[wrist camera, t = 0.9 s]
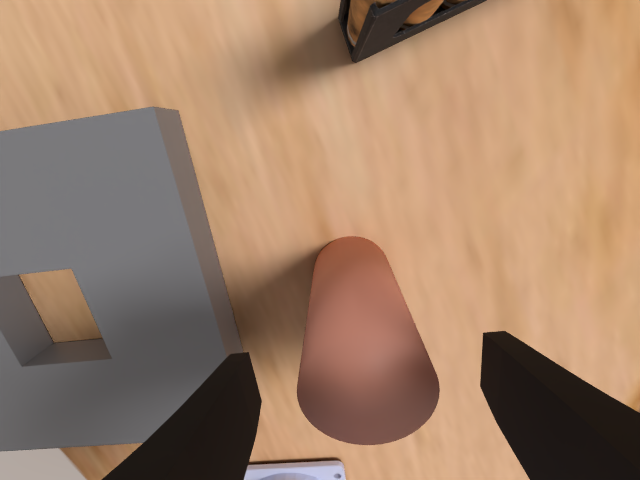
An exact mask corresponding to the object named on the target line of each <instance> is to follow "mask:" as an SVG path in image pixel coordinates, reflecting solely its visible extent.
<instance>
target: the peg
mask: <svg viewBox="0 0 640 480" xmlns="http://www.w3.org/2000/svg"><path fill="white" fill-rule="evenodd" d="M439 391H440V389H439V381H438V377H437V374H436V372H435V370H434V367H433V365H432V363H431V360H430V358H429V356H428V353H427V351H426V349H425V346H424V344H423V342H422V339H421V337H420V335H419V332H418V330H417V328H416V325H415V323H414V321H413V318H412V316H411V314H410V311H409V309H408V307H407V304H406V302H405V300H404V297H403V295H402V293H401V290H400V288H399V286H398V283H397V281H396V279H395V276H394V274H393V272H392V269H391V267H390V265H389V262H388V260H387V258H386V256H385V254H384V252H383V251H382V250H381V249H380V247H378V246H377V245H376V244H375V243H373V242H372V241H370V240H367V239H365V238H361V237H343V238H340V239H337V240H335V241H332V242H331V243H329V244H328V245H327V246H325V247H324V248H323V249H322V251H321V252H320V253H319V255H318V257H317V259H316V262H315V266H314V273H313V280H312V287H311V293H310V300H309V307H308V314H307V321H306V328H305V335H304V342H303V349H302V356H301V363H300V370H299V377H298V384H297V397H298V402H299V405H300V408H301V410H302V412H303V414H304V415H305V417H306V418H307V419H308V420H309V422H310V423H311V424H312V425H313V426H314V427H316V428H317V429H318V430H320V431H321V432H322V433H324V434H326V435H328V436H330V437H332V438H334V439H337V440H339V441H343V442H346V443H351V444H359V445H377V444H384V443H389V442H393V441H396V440H399V439H401V438H404V437H406V436H408V435H410V434H411V433H413V432H415V431H416V430H417V429H419V428H420V427H421V426H422V425H423V424H425V423H426V421H427V420H428V419H429V418H430V417H431V415H432V413H433V412H434V410H435V408H436V406H437V403H438V399H439Z"/></svg>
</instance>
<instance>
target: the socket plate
mask: <svg viewBox="0 0 640 480" xmlns="http://www.w3.org/2000/svg"><path fill="white" fill-rule="evenodd" d="M62 269H72V271H73V273H74V275H75V278H76V280H77V282H78V284H79V286H80V289H81V291H82V293H83V295H84V297H85V300H86V302H87V304H88V306H89V309H90V311H91V313H92V315H93V317H94V320H95V322H96V324H97V326H98V329H99V331H100V333H101V335H102V337H103V338H102V339H92V340H81V341H70V342H59V343H53V341H52V339H51V337H50V335H49V333H48V331H47V330H46V328H45V326H44V324H43V322H42V320H41V318H40V316H39V314H38V312H37V310H36V308H35V306H34V304H33V303H32V301H31V299H30V297H29V295H28V293H27V291H26V289H25V287H24V285H23V283H22V281H21V279H20V277H19V276H18V275H19V274H28V273H36V272H45V271H54V270H62ZM234 353H244V352H243V349H242V345H241V341H240V338H239V334H238V330H237V326H236V323H235V319H234V315H233V312H232V308H231V304H230V300H229V297H228V293H227V289H226V286H225V282H224V278H223V274H222V271H221V267H220V263H219V260H218V256H217V252H216V248H215V245H214V241H213V237H212V234H211V230H210V226H209V222H208V219H207V215H206V211H205V208H204V204H203V200H202V196H201V193H200V189H199V185H198V182H197V178H196V174H195V171H194V167H193V163H192V159H191V156H190V152H189V148H188V145H187V141H186V137H185V133H184V130H183V126H182V122H181V119H180V115H179V111H178V110H172V109H165V108H159V107H149V108H142V109H136V110H130V111H124V112H117V113H111V114H105V115H99V116H93V117H86V118H80V119H74V120H68V121H61V122H55V123H49V124H43V125H37V126H30V127H24V128H18V129H12V130H5V131H0V451H15V450H31V449H47V448H65V447H82V446H99V445H115V444H132V443H144V442H145V441H146V440H147V439H148V438H149V437H150V436H151V435H152V434H153V433H154V432H155V431H156V430H157V429H158V428H159V427H160V426H161V425H162V424H163V423H164V422H165V421H166V420H167V419H168V418H169V417H171V416H172V415H173V414H174V413H175V412H176V411H177V410H178V409H179V408H180V407H181V406H182V404H183V403H184V402H185V401H186V400H187V399H188V398H189V397H190V396H191V395H192V394H193V393H194V392H195V391H196V390H197V389H198V388H199V387H200V386H201V384H202V383H203V382H204V381H205V380H206V379H207V378H208V377H209V376H210V375H211V374H212V373H213V372H214V370H215V369H216V368H217V367H218V366H219V365H220V364H221V363H222V362H223V361H224V360H225V359H226V358H227V357H228V356H229V355H230V354H234Z"/></svg>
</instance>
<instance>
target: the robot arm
mask: <svg viewBox="0 0 640 480" xmlns="http://www.w3.org/2000/svg"><path fill="white" fill-rule="evenodd" d="M480 387H481V389H482V391H483V393H484V396H485V398H486V400H487V403H488V405H489V407H490V409H491V412H492V414H493V416H494V418H495V420H496V422H497V424H498V426H499V428H500V429H501V431H502V433H503V434H504V436H505V438H506V440H507V441H508V443H509V445H510V447H511V448H512V450H513V452H514V453H515V455H516V457H517V458H518V460H519V462H520V464H521V465H522V467H523V469H524V470H525V472H526V474H527V475H528V477H529V479H530V480H640V413H639V412H637V411H635V410H633V409H632V408H630V407H628V406H626V405H625V404H623V403H621V402H619V401H618V400H616V399H614V398H612V397H611V396H609V395H607V394H605V393H604V392H602V391H600V390H599V389H597V388H595V387H594V386H592V385H590V384H589V383H587V382H585V381H584V380H582V379H581V378H579V377H577V376H576V375H574V374H572V373H571V372H569V371H568V370H566V369H564V368H563V367H561V366H560V365H558V364H556V363H555V362H553V361H552V360H550V359H549V358H547V357H545V356H544V355H542V354H541V353H539V352H538V351H536V350H534V349H533V348H531V347H530V346H528V345H527V344H525V343H524V342H522V341H520V340H519V339H517V338H516V337H514V336H512V335H511V334H509V333H507V332H506V331H499V332H487V333H483V346H482V364H481V383H480ZM261 402H262V401H261V397H260V393H259V389H258V386H257V382H256V378H255V374H254V370H253V367H252V363H251V359H250V355H249V352H246V353H234V354H230V355H229V356H228V357H227V358H226V359H225V360H224V361H223V362H222V363H221V364H220V365H219V366H218V367H217V368H216V369H215V370H214V372H213V373H212V374H211V375H210V376H209V377H208V378H207V379H206V380H205V381H204V382H203V383H202V384H201V386H200V387H199V388H198V389H197V390H196V391H195V392H194V393H193V394H192V395H191V396H190V397H189V398H188V399H187V400H186V401H185V402H184V403H183V404H182V406H181V407H180V408H179V409H178V410H177V411H176V412H175V413H174V414H173V415H172V416H171V417H169V418H168V419H167V420H166V421H165V422H164V423H163V424H162V425H161V426H160V427H159V428H158V429H157V430H156V431H155V432H154V433H153V434H152V435H151V436H150V437H149V438H148V439H147V440H146V441H145V442H144V443H143V444H142V445H141V446H140V447H138V448H137V449H136V450H135V451H134V452H133V453H132V454H131V455H130V456H128V457H127V458H126V459H125V460H124V461H123V462H122V463H121V464H119V465H118V466H117V467H116V468H115V469H114V470H112V471H111V472H110V473H109V474H108V475H107V476H105V477H104V478H103V479H102V480H346V476H345V470H344V465H343V463H342V462H340V461H317V462H297V463H278V464H258V465H248V463H249V459H250V456H251V452H252V449H253V445H254V441H255V437H256V433H257V427H258V421H259V415H260V408H261Z"/></svg>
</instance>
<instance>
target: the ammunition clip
mask: <svg viewBox="0 0 640 480" xmlns="http://www.w3.org/2000/svg"><path fill="white" fill-rule="evenodd" d="M484 1H486V0H341V4H340V10H339V17H338V19H339V22H340V25H341V28H342V31H343V34H344V37H345V40H346V43H347V46H348V49H349V52H350V55H351V58H352V61H353V62H355V63H357V62H359V61H361V60H363V59H365V58H367V57H369V56H372V55H374V54H376V53H378V52H380V51H382V50H384V49H386V48H388V47H390V46H392V45H394V44H397V43H399V42H401V41H403V40H405V39H407V38H409V37H411V36H413V35H415V34H417V33H419V32H422V31H424V30H426V29H428V28H430V27H432V26H434V25H436V24H438V23H440V22H442V21H445V20H447V19H449V18H451V17H453V16H455V15H457V14H459V13H461V12H463V11H465V10H467V9H470V8H472V7H474V6H476V5H478V4H480V3H482V2H484Z"/></svg>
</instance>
